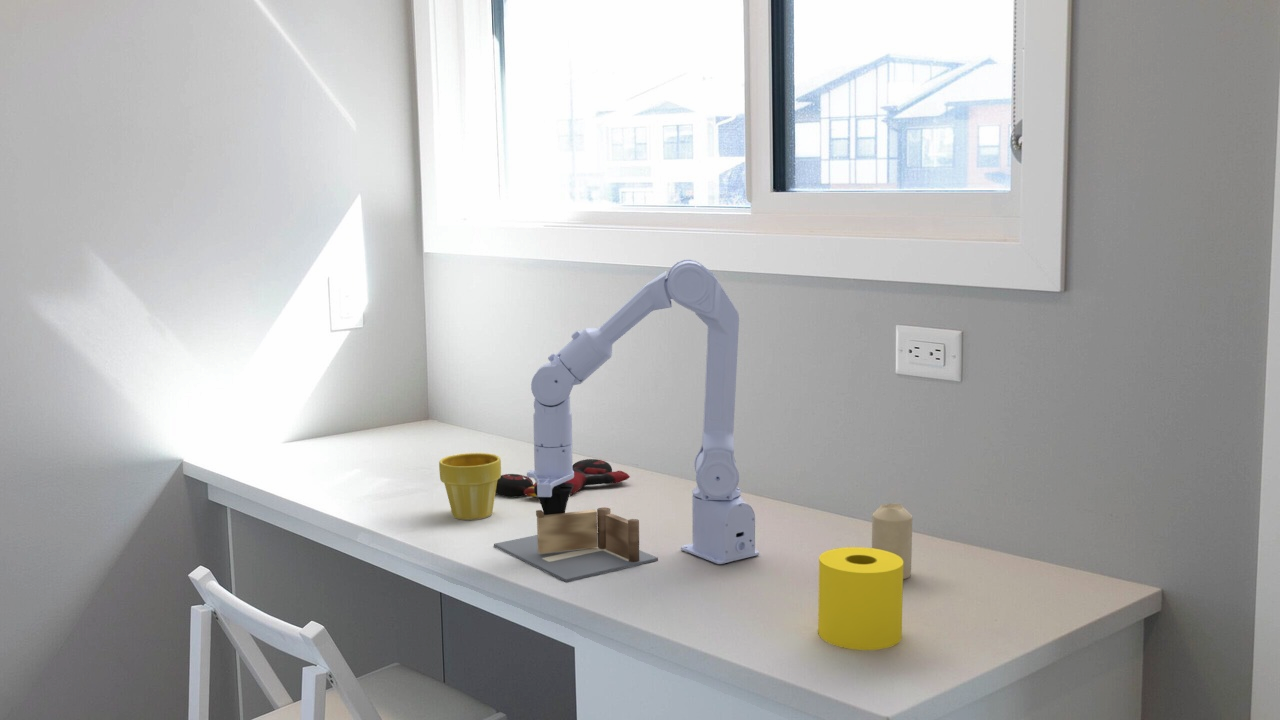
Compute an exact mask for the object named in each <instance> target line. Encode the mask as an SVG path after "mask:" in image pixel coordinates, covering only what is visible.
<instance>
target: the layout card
mask: <svg viewBox="0 0 1280 720" xmlns="http://www.w3.org/2000/svg"><path fill="white" fill-rule="evenodd" d="M493 547H494V548H497V549H498V550H500V551H503V552H504V553H506V554H508V555H511V556H512V557H515V558H517V559H519V560H521V561H522V562H525V563H527V564H529V565H531V566H532V567H534V568H537V569H539V570H541V571H543V572H545V573H547V574H549V575H551V576H553V577H555V578H557V579H558V580H561V581H562V582H565V583H567V582H572V581H577V580H581V579H585V578H589V577H594V576H598V575H601V574H605V573H610V572H615V571H619V570H622V569H628V568H632V567H636V566H639V565H640V566H641V565H645V564H649V563H654V562H657V561H659V557H658V556H654V555H652V554H650V553H648V552H645V551H642V550H640V549H639V561H638V562H630V561H629V559H626V558H624V557H622V556H619V555H617V554H615V553H612V552H610V551H608V550H606V549H600V548H598V532H597V547H594V548H585V549H577V550H569V551H560V552H552V553H543V554H539V552H538V541H537V534H535V535H530V536H525V537H521V538H514V539H511V540H506V541H505V540H504V541H500V542H497V543H493Z"/></svg>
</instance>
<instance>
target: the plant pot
mask: <svg viewBox="0 0 1280 720" xmlns="http://www.w3.org/2000/svg"><path fill="white" fill-rule="evenodd" d="M438 463H439V464H438V465H439V466H438V468H439V479H440V482H441V483H443V484H444V487H445V490H446V495H447V500H448V502H449V506H450V510H451V515H452V517H453V518H454V519H456V520H462V521H476V520H482V519H486V518H489V517H490V516H492V514H493V511H494V503H495V498H496V493H495V492H496V486H497V480H498V479H499V478H500V477H501V475H502V460H501V457H500V456H499V455H496V454H493V453H487V452H486V453H484V452H469V453H458V454H452V455H449V456H446V457H443V458H441V459H440V460H439V462H438Z"/></svg>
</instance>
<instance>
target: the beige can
mask: <svg viewBox="0 0 1280 720" xmlns="http://www.w3.org/2000/svg"><path fill="white" fill-rule="evenodd" d="M871 519H872V521H871V522H872V523H871V548H874V549H880V550H884V551H888V552H891V553H894V554H896V555H898V556H899V557H901V558H902V560H903V580H906V579H909V578H910V577H911V575H912V553H913V548H912V546H913V515H912V514H911V513H910V512H909V510H907V509H906V508H905V507H904V506H903V505H902V504H900V503H888V504H880V506H879V507H878V508H877V509H876V510H875V511H874V512H873V513H872V518H871Z"/></svg>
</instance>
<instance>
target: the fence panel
mask: <svg viewBox="0 0 1280 720" xmlns="http://www.w3.org/2000/svg"><path fill="white" fill-rule="evenodd" d="M535 516H536V530H537V531H536V535H537V541H538V552H539V554H543V553H552V552H560V551H569V550H577V549H585V548H594V547H597V533H598V528H597V510H595V509H588V510H579V511H570V512H565V513H560V514H550V515H544V512H543V509H538V510H535Z"/></svg>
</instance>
